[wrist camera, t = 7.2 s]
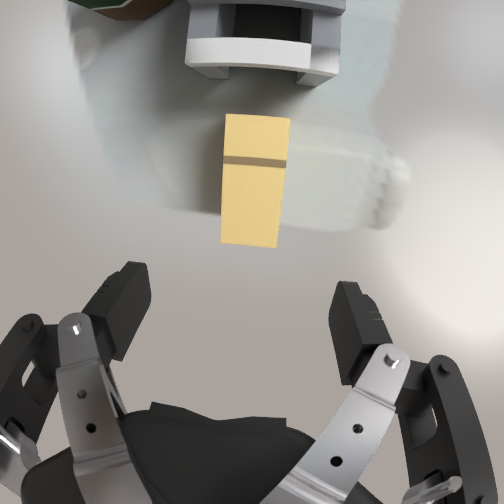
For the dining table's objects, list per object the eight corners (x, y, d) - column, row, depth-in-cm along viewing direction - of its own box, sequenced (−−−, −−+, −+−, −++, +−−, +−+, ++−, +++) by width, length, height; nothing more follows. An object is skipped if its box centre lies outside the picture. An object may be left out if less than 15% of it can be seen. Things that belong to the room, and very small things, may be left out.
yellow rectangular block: (234, 114, 19) (225, 113, 15) (285, 118, 19) (290, 118, 15) (228, 220, 24) (220, 243, 20) (274, 224, 24) (276, 248, 20)
